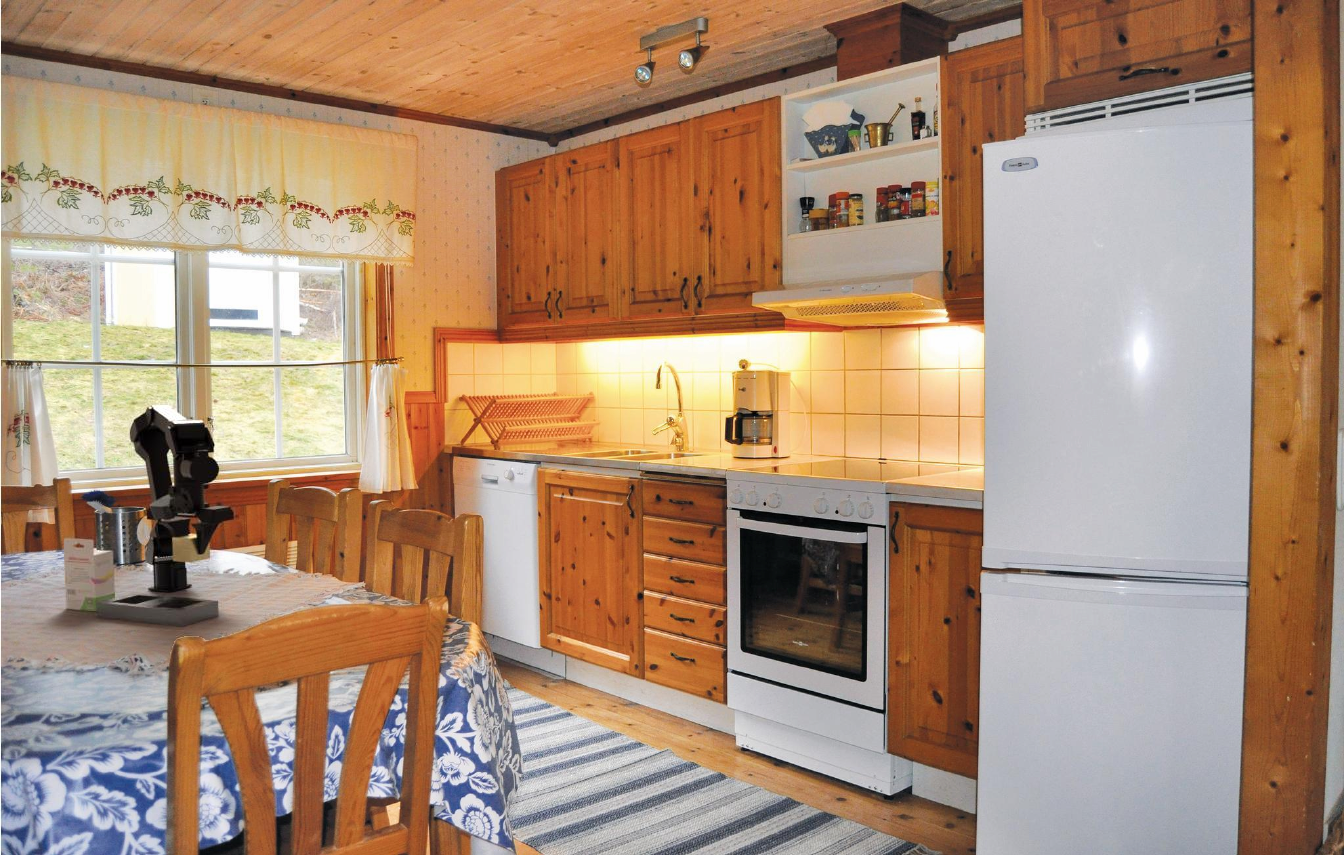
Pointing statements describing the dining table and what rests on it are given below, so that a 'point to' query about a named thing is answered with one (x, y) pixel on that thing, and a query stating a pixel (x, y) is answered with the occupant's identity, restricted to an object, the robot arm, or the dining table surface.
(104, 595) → the ink box
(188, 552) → the natural wood cube
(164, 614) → the grey flat block
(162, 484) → the robot arm
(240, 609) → the dining table surface
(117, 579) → the dining table surface
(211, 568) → the dining table surface
